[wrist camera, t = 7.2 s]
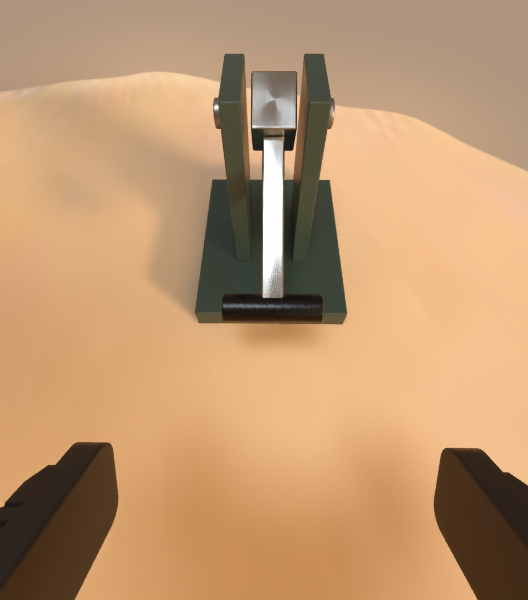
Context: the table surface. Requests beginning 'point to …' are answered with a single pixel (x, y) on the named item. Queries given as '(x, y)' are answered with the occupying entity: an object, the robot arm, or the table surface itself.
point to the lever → (273, 206)
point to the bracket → (248, 204)
